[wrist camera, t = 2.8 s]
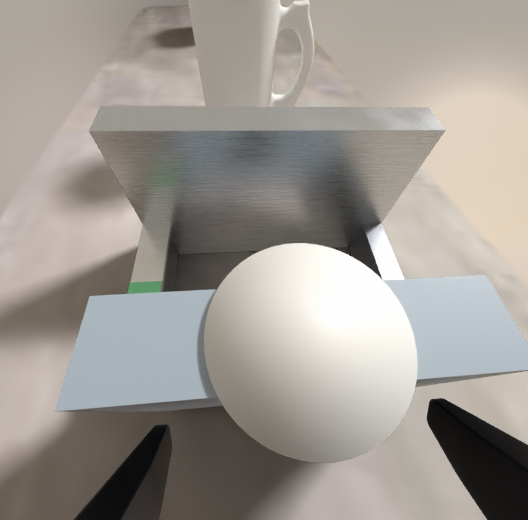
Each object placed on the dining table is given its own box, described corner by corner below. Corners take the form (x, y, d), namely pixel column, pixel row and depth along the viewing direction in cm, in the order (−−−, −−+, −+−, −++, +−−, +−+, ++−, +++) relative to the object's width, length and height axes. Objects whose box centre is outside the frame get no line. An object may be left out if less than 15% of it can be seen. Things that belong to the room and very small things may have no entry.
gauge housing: (404, 362, 16) (582, 307, 7) (136, 384, 15) (-23, 347, 6) (358, 227, 22) (428, 107, 13) (161, 234, 20) (96, 106, 12)
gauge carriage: (399, 420, 14) (590, 432, 6) (123, 448, 13) (-81, 509, 5) (368, 316, 17) (469, 236, 9) (142, 331, 16) (36, 253, 8)
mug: (207, 157, 26) (178, -13, 15) (209, 120, 29) (186, -39, 19) (304, 156, 26) (338, -6, 16) (294, 120, 30) (317, -33, 20)
